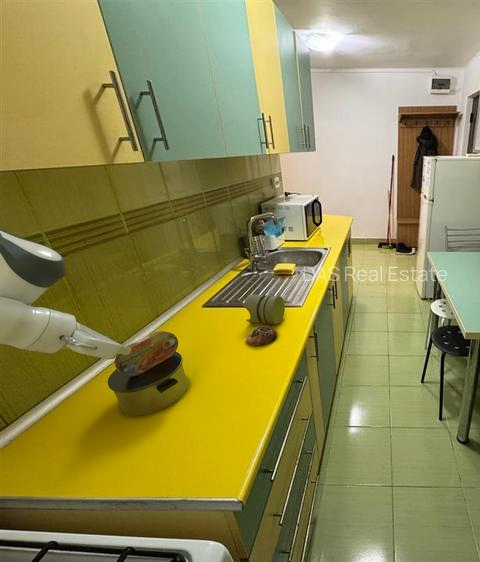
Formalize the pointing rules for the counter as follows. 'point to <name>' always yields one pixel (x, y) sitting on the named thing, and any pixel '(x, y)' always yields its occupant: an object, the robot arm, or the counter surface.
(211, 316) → the counter surface
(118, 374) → the stockpot
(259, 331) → the bread roll
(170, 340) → the tin
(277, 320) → the piston
